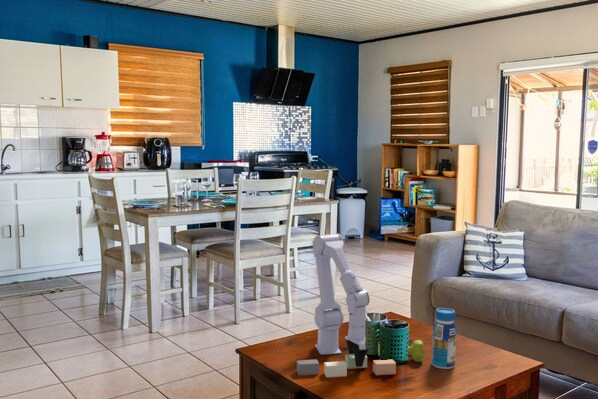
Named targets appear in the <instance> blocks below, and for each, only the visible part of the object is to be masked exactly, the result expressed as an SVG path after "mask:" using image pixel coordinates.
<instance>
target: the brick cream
mask: <svg viewBox="0 0 598 399" xmlns="http://www.w3.org/2000/svg"><path fill="white" fill-rule="evenodd" d="M323 364H324V366H323V367H324V368H323V373H324V376H325V378H339V377H347V376H348V368H347V364H346V363H345V360H341V361H338V360H337V361H326V362H323Z"/></svg>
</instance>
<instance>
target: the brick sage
mask: <svg viewBox="0 0 598 399" xmlns="http://www.w3.org/2000/svg"><path fill="white" fill-rule="evenodd" d="M344 361H345V363H346V364H347V370H349V369H367V368H368V356H367V355H366V356H365V359H364V362H363V366H362V367H356V364H355V356H354V354H349V353H348V354H347V353H346V354H345V355H344Z"/></svg>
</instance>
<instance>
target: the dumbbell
mask: <svg viewBox="0 0 598 399" xmlns="http://www.w3.org/2000/svg"><path fill="white" fill-rule="evenodd" d="M379 343H380V342H379V341H378V343H377V355H378V357H379V356H380V344H379ZM424 345H425V344H424V342H423V341H422V340H420V339H416V340H413V342H412V344H411V345H409V346H408V355H409V356H411V357H412V359H413V361H414V362H416V363H422V362H423V360H424V356H425V346H424Z"/></svg>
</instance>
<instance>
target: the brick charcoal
mask: <svg viewBox="0 0 598 399" xmlns="http://www.w3.org/2000/svg"><path fill="white" fill-rule="evenodd" d="M296 373H297V375H298V376H309V375H310V376H314V375H319V374H320V363H319V361H318V359H315V358H314V359H303V360H302V359H301V360H300V359H299V360H296Z"/></svg>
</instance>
